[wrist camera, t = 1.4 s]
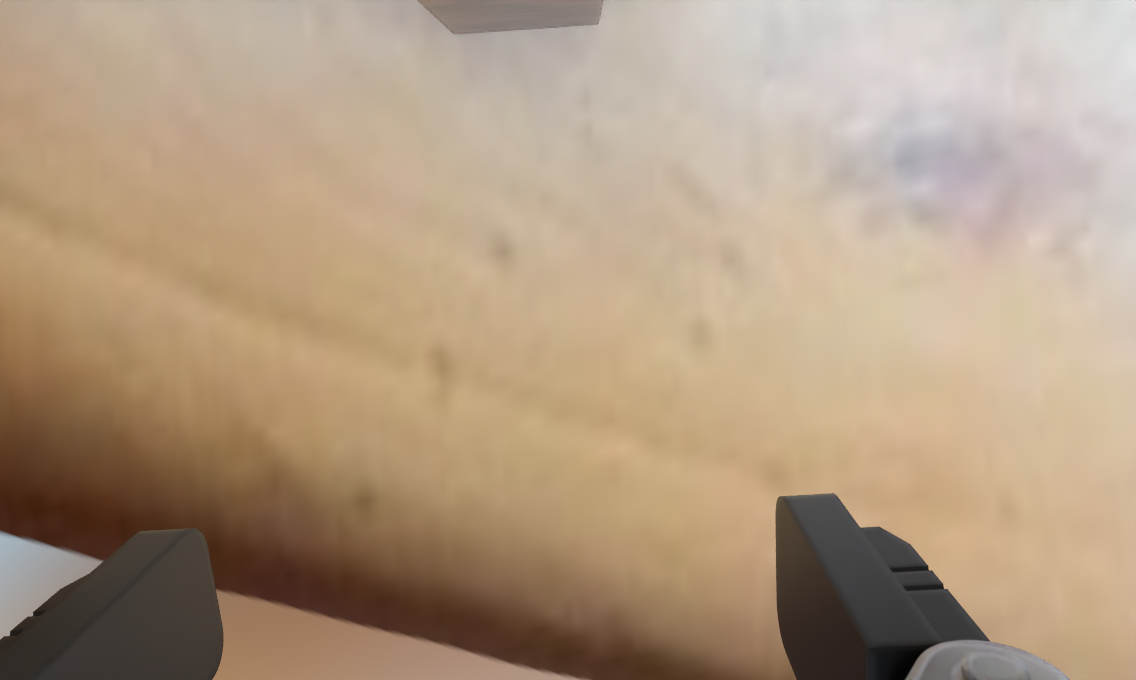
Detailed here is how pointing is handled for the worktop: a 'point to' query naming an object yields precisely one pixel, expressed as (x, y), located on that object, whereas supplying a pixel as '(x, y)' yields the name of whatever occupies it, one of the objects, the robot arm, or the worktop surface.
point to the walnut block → (512, 14)
